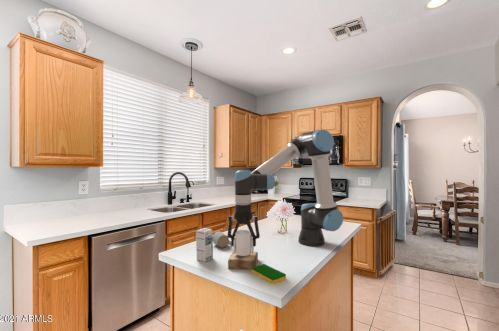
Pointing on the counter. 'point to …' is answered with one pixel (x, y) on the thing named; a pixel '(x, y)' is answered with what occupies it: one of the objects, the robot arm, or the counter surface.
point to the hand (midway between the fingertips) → (243, 252)
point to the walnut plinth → (243, 261)
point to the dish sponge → (269, 273)
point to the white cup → (243, 242)
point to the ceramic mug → (220, 239)
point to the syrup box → (204, 244)
